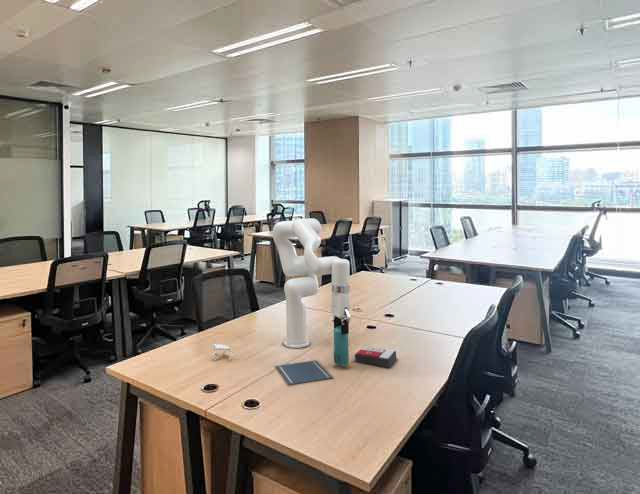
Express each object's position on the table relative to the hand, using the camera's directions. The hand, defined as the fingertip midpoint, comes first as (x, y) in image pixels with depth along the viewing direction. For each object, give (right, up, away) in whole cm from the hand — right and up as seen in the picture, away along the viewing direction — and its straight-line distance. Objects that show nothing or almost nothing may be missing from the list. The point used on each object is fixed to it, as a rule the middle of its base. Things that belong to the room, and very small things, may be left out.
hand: (341, 330), depth 179 cm
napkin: (-16, -15, -5) cm, 23 cm away
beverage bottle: (0, -15, 0) cm, 15 cm away
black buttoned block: (+16, -15, +6) cm, 23 cm away
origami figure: (-52, -16, +10) cm, 55 cm away
